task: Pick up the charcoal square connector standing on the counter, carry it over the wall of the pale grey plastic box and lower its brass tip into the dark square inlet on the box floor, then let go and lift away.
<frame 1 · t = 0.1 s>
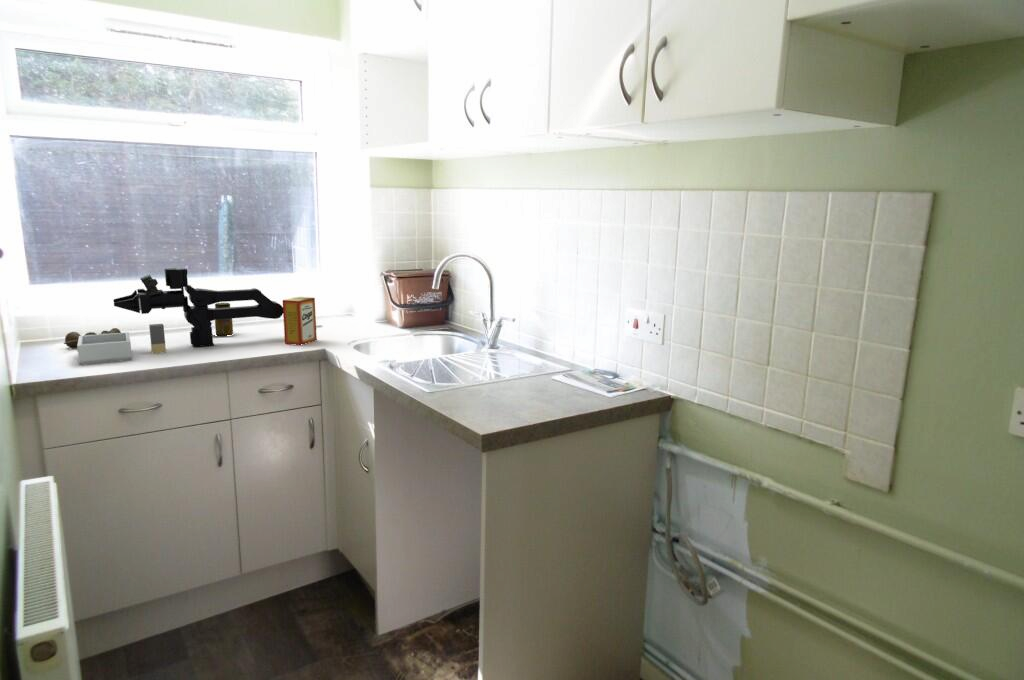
hand: (113, 302, 218), 17 cm above the worktop, tool horizontal, fingers open, 9 cm apart
walled box: (106, 356, 215), on the worktop
condiment: (223, 335, 252), on the worktop
connector: (158, 351, 223), on the worktop
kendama: (92, 347, 231), on the worktop
baking soda box: (301, 342, 241), on the worktop
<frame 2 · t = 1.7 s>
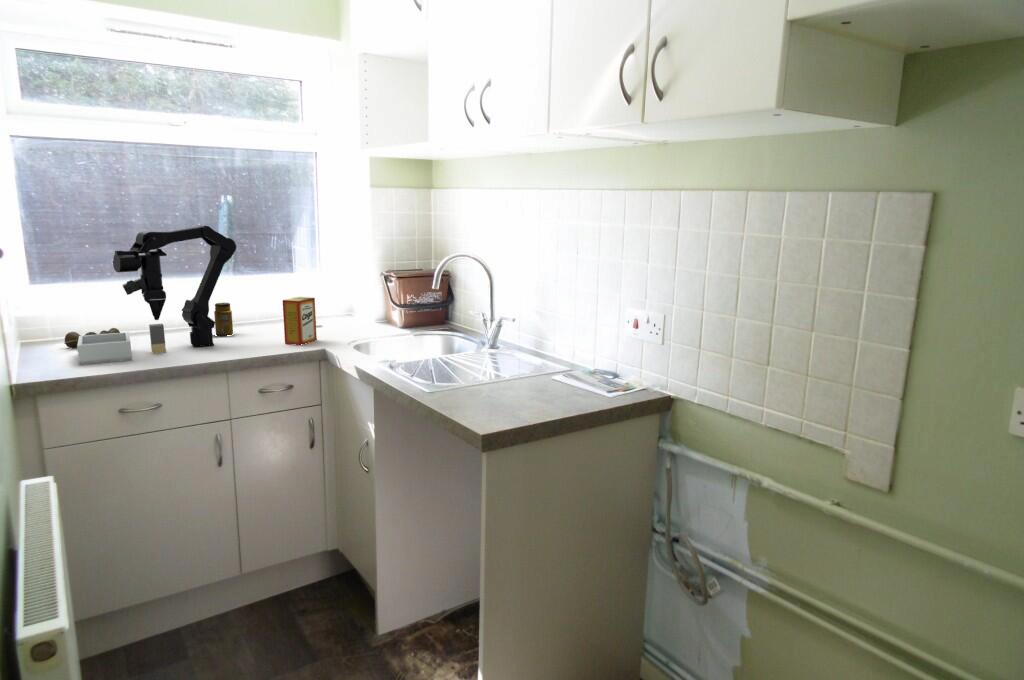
hand: (155, 318, 221), 11 cm above the worktop, tool pointing down, fingers open, 9 cm apart
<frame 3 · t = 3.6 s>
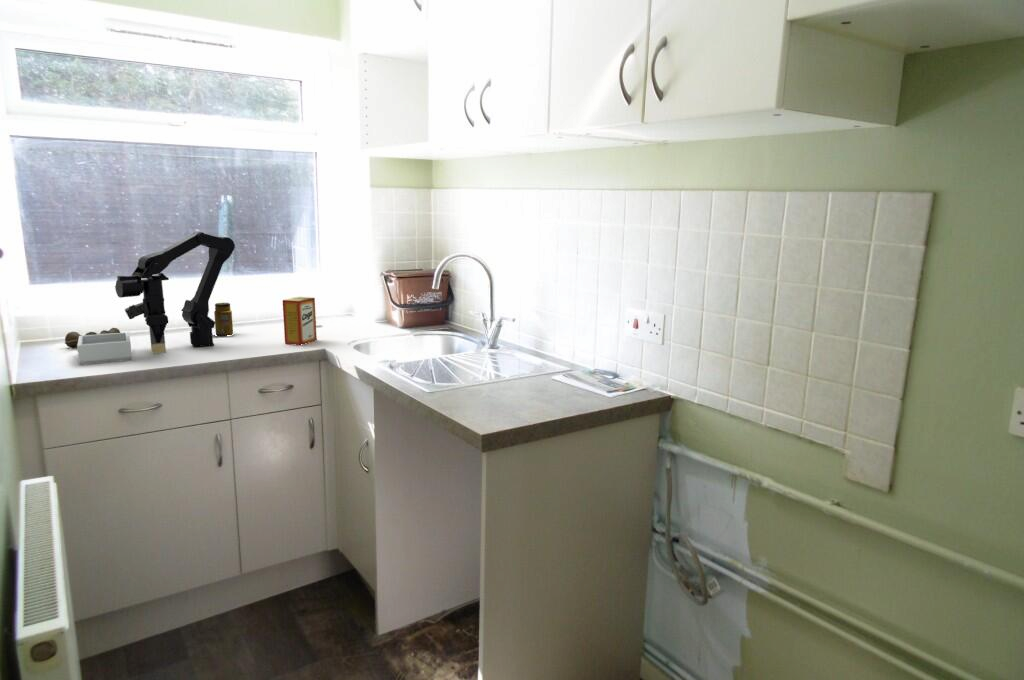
hand: (157, 341, 222), 3 cm above the worktop, tool pointing down, fingers closed on connector, 4 cm apart
connector: (158, 351, 223), on the worktop, touching gripper
everything else where it was.
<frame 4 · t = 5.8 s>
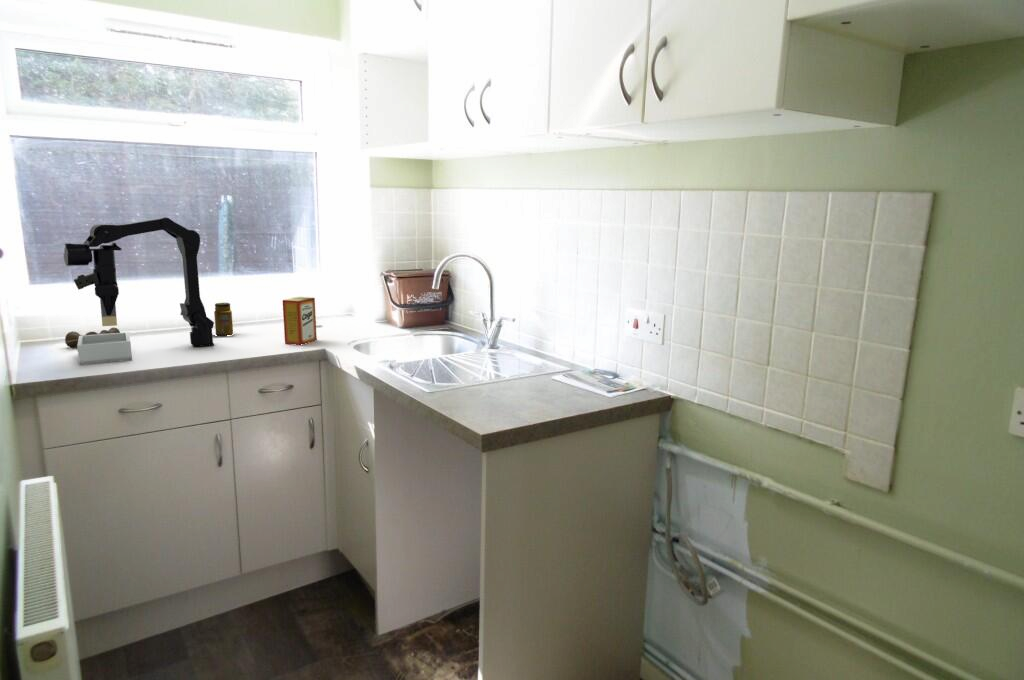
hand: (108, 314, 213), 14 cm above the worktop, tool pointing down, fingers closed on connector, 4 cm apart
connector: (109, 325, 214), point 10 cm above the worktop, touching gripper
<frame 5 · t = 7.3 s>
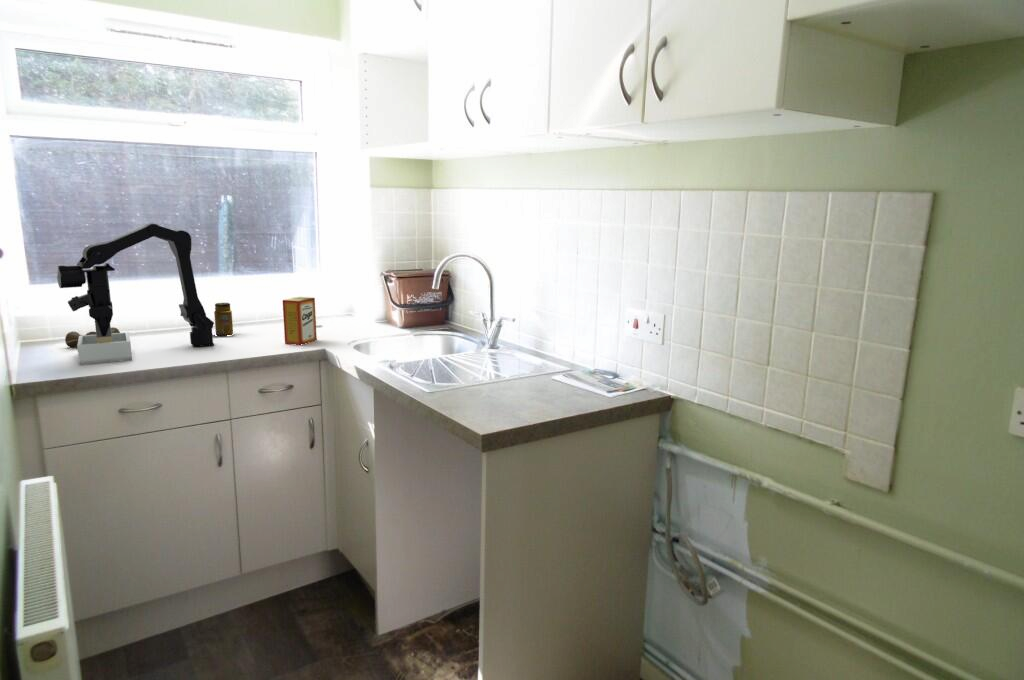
hand: (104, 334, 213), 7 cm above the worktop, tool pointing down, fingers closed on connector, 4 cm apart
connector: (105, 345, 214), point 4 cm above the worktop, touching gripper
when the fingers open (6 cm above the worktop, at t = 8.4 s): connector drops 2 cm, resting on walled box.
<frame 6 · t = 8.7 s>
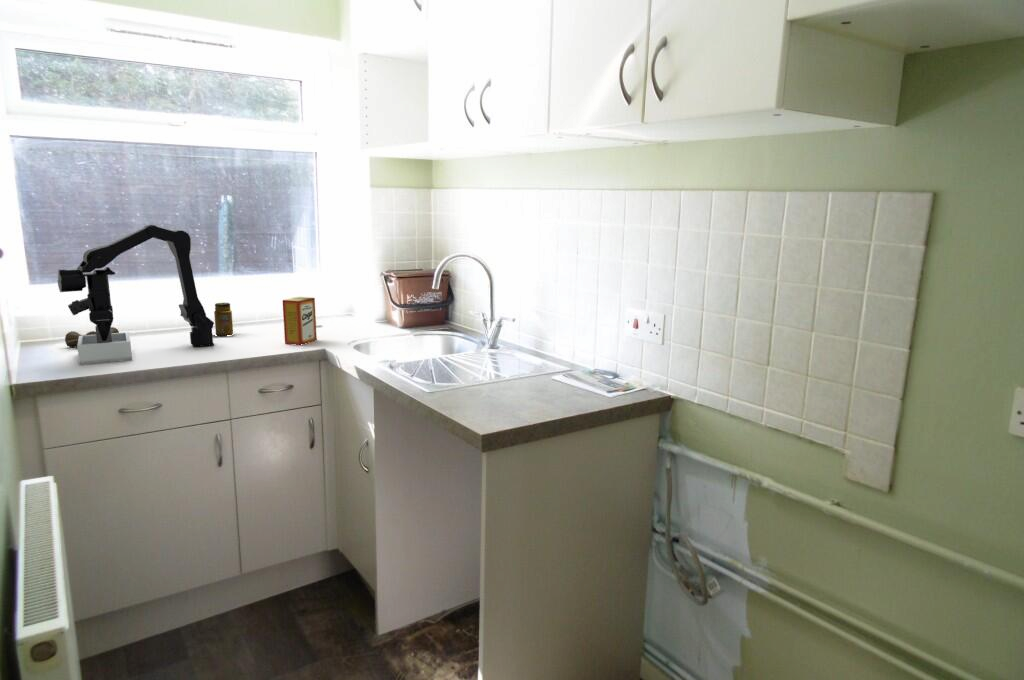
hand: (104, 338, 213), 6 cm above the worktop, tool pointing down, fingers open, 8 cm apart
connector: (106, 353, 214), point 1 cm above the worktop, touching walled box
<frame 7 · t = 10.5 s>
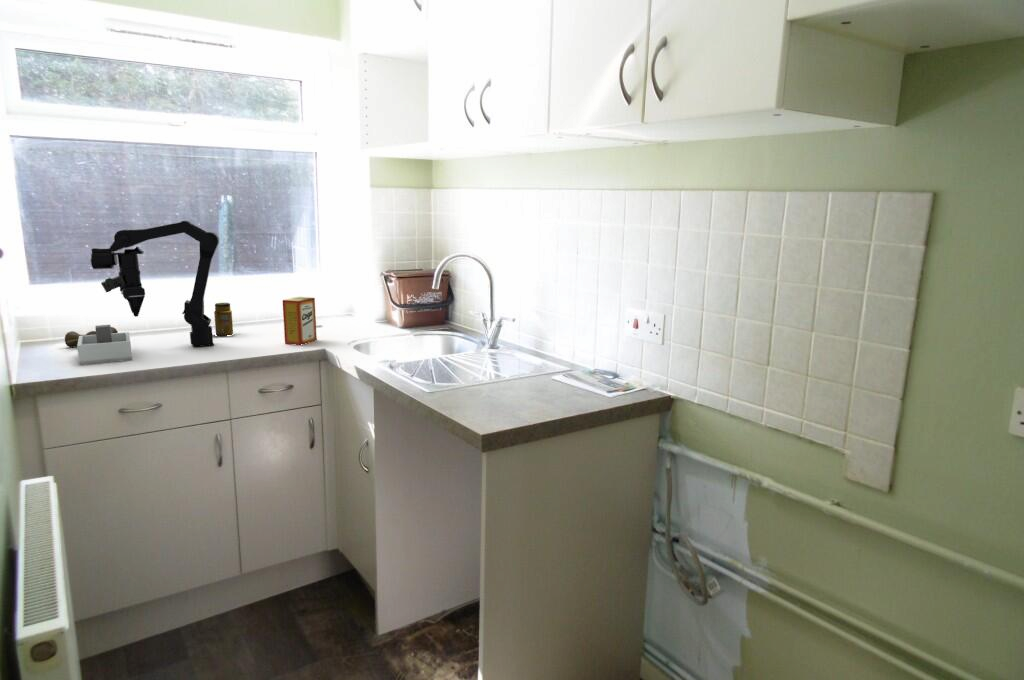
hand: (135, 314, 225), 12 cm above the worktop, tool pointing down, fingers open, 9 cm apart
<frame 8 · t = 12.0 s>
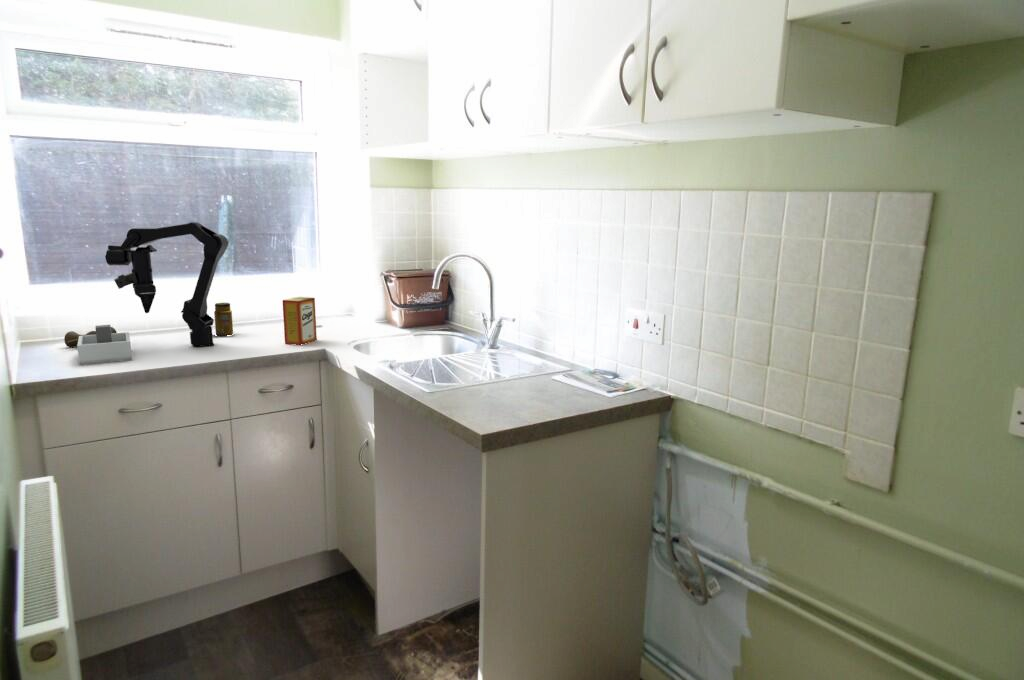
hand: (146, 311, 231), 12 cm above the worktop, tool pointing down, fingers open, 9 cm apart
at the end: connector 0.0 cm off-centre on the walled box, point 1.0 cm above the walled box's base; connector tilted 0°; the gripper is holding nothing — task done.
